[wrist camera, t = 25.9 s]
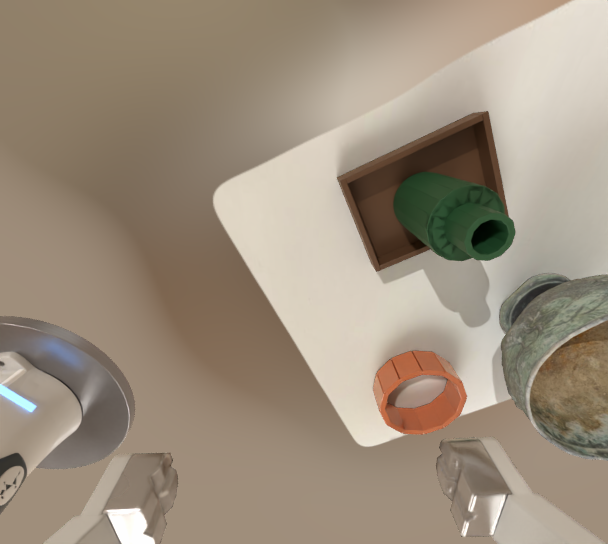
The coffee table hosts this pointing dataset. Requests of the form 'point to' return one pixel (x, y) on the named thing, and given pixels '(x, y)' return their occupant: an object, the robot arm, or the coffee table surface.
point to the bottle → (454, 216)
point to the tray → (406, 162)
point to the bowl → (560, 359)
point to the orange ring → (426, 415)
